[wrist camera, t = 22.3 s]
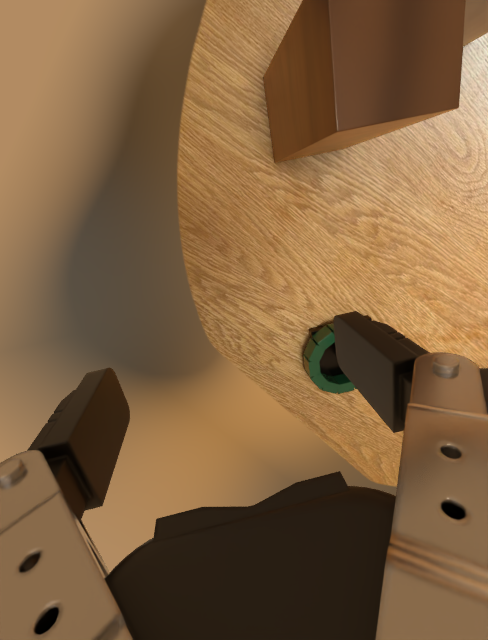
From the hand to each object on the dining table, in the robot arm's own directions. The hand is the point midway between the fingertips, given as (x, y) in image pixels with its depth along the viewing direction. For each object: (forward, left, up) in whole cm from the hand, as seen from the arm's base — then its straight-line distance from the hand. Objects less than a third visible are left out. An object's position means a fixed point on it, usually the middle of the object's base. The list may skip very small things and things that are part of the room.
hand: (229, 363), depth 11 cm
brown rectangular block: (+14, +12, -30) cm, 35 cm away
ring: (+15, -19, -29) cm, 38 cm away
